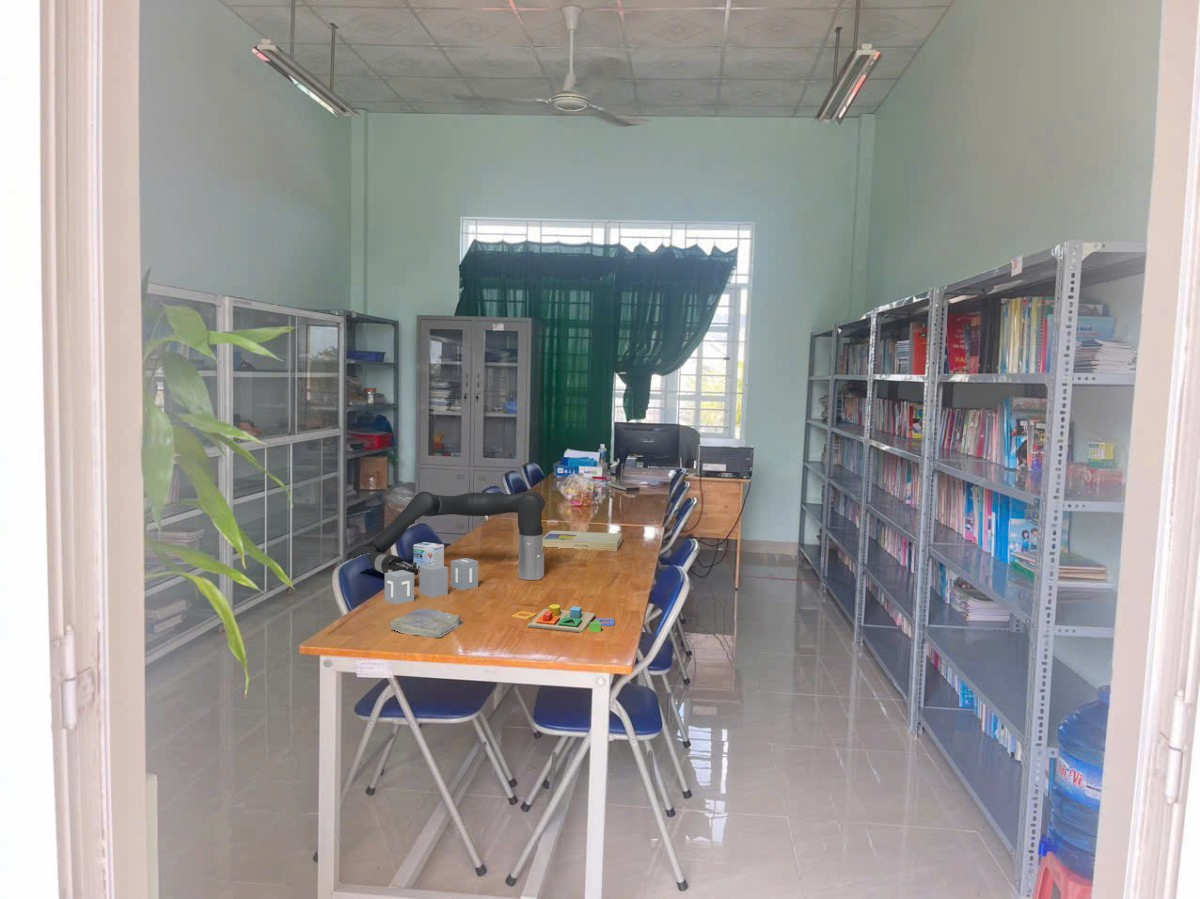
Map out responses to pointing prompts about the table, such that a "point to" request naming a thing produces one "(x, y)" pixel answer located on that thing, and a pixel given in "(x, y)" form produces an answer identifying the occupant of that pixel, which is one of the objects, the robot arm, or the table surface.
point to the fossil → (427, 623)
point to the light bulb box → (428, 554)
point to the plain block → (434, 580)
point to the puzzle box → (583, 540)
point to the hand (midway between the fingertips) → (416, 572)
